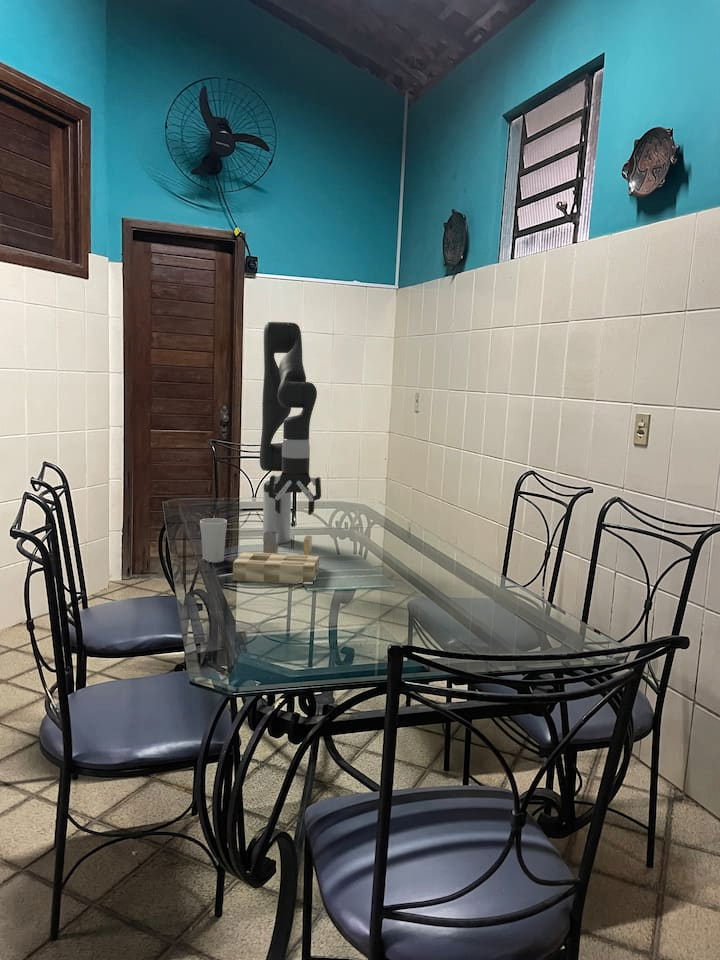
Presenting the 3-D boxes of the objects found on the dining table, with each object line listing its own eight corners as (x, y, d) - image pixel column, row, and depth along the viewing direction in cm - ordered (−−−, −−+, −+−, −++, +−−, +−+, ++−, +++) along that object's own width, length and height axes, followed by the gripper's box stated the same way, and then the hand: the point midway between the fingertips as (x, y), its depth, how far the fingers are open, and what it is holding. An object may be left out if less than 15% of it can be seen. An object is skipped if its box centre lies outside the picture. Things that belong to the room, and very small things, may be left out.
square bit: (265, 563, 206) (266, 530, 205) (277, 564, 206) (278, 531, 205) (263, 566, 203) (263, 533, 202) (275, 567, 203) (275, 534, 201)
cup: (200, 563, 204) (200, 523, 202) (199, 556, 211) (199, 518, 210) (227, 562, 206) (228, 523, 204) (225, 556, 214) (225, 517, 212)
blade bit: (305, 564, 207) (306, 535, 205) (311, 565, 206) (311, 535, 205) (303, 569, 201) (303, 539, 200) (308, 569, 201) (309, 539, 200)
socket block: (243, 568, 200) (243, 551, 199) (318, 572, 199) (319, 555, 198) (232, 580, 188) (233, 562, 188) (313, 584, 187) (313, 566, 186)
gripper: (323, 455, 192) (321, 512, 194) (272, 453, 193) (271, 510, 195) (320, 458, 184) (318, 517, 187) (267, 455, 185) (266, 515, 187)
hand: (294, 513), depth 191 cm, fingers open, 8 cm apart
